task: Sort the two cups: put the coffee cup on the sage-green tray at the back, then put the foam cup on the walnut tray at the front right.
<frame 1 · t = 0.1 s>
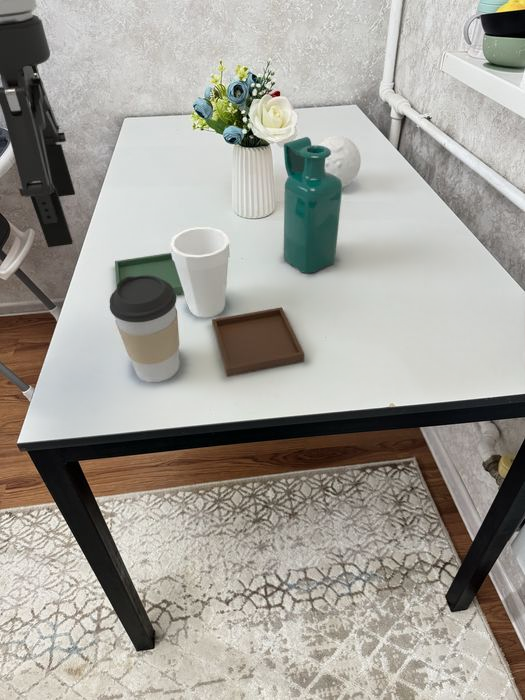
hand: (62, 217, 62), 24 cm above the table, tool pointing down, fingers open, 13 cm apart
foam cup: (207, 307, 87), on the table
walnut tray: (256, 343, 79), on the table
decorative ball: (333, 187, 122), on the table
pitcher: (306, 259, 98), on the table
coffee cup: (158, 367, 76), on the table
sage tray: (150, 280, 93), on the table
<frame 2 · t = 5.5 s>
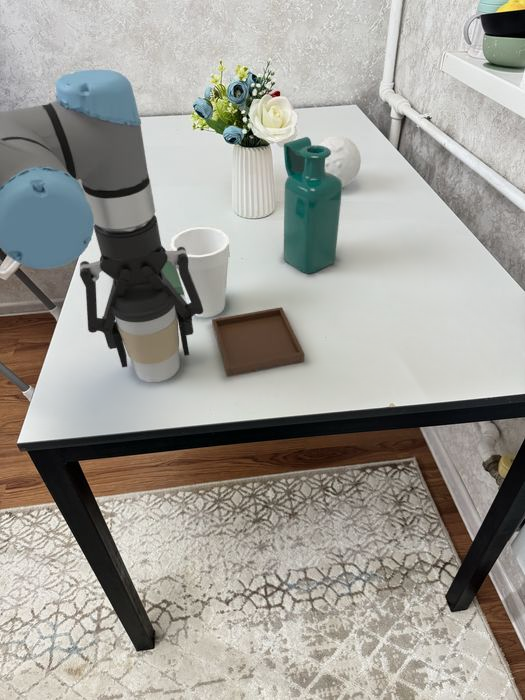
hand: (155, 355, 74), 2 cm above the table, tool pointing down, fingers closed on coffee cup, 8 cm apart
coffee cup: (158, 367, 76), on the table, touching gripper
everything else where it was.
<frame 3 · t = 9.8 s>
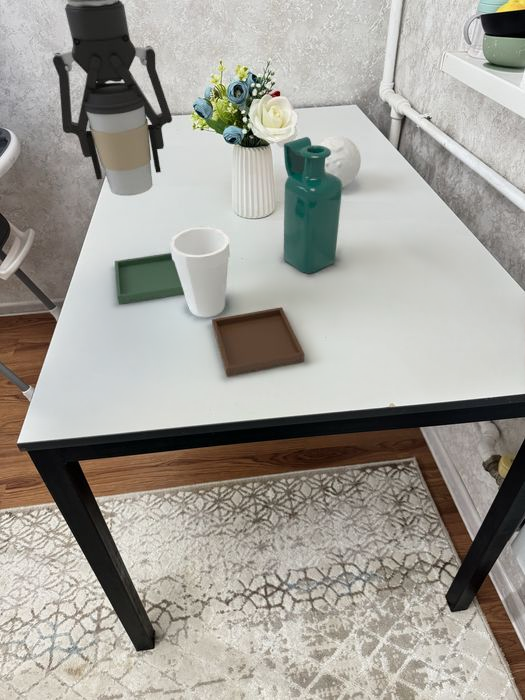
hand: (128, 172, 79), 21 cm above the table, tool pointing down, fingers closed on coffee cup, 8 cm apart
coffee cup: (131, 187, 80), point 19 cm above the table, touching gripper
everything else where it was.
when the fingers open (3 cm above the table, at t = 14.2 s): coffee cup stays where it is, resting on sage tray.
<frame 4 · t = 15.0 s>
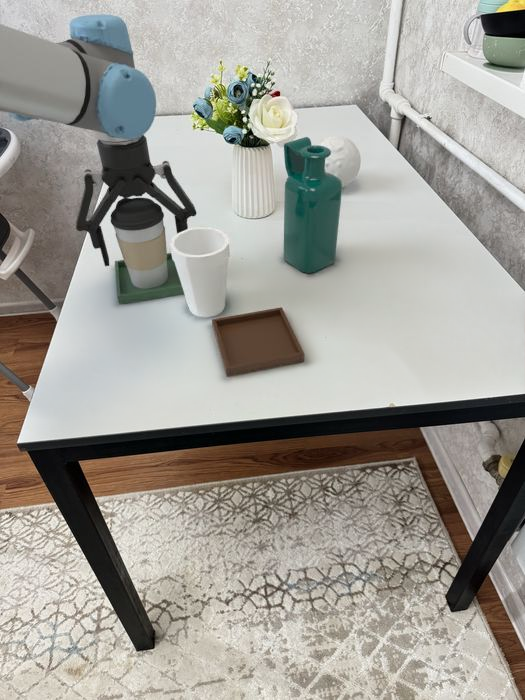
hand: (145, 257, 90), 5 cm above the table, tool pointing down, fingers open, 13 cm apart
coffee cup: (150, 279, 93), resting on sage tray
everything else where it was.
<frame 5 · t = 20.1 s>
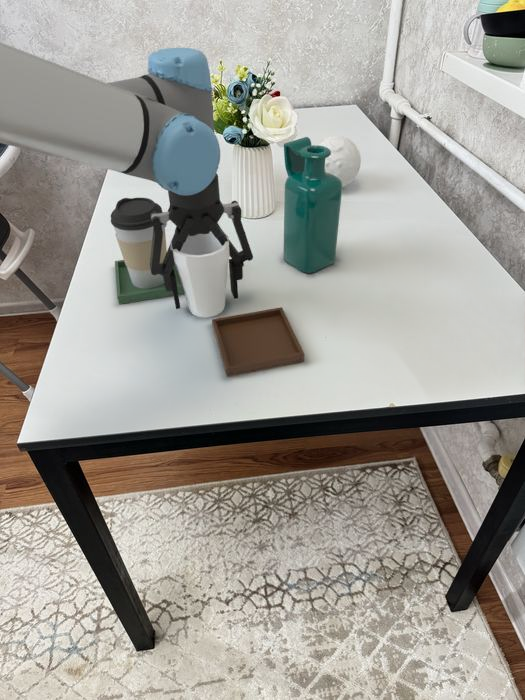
hand: (206, 299, 86), 2 cm above the table, tool pointing down, fingers closed on foam cup, 9 cm apart
foam cup: (207, 307, 87), on the table, touching gripper
everything else where it was.
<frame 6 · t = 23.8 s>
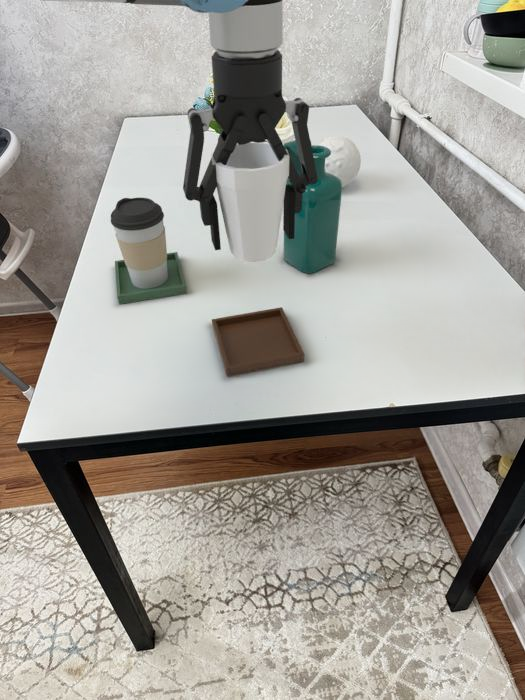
hand: (252, 239, 67), 19 cm above the table, tool pointing down, fingers closed on foam cup, 9 cm apart
foam cup: (253, 250, 68), point 17 cm above the table, touching gripper
everything else where it was.
when the fingers open (2 cm above the table, at t = 28.0 s): foam cup stays where it is, resting on walnut tray.
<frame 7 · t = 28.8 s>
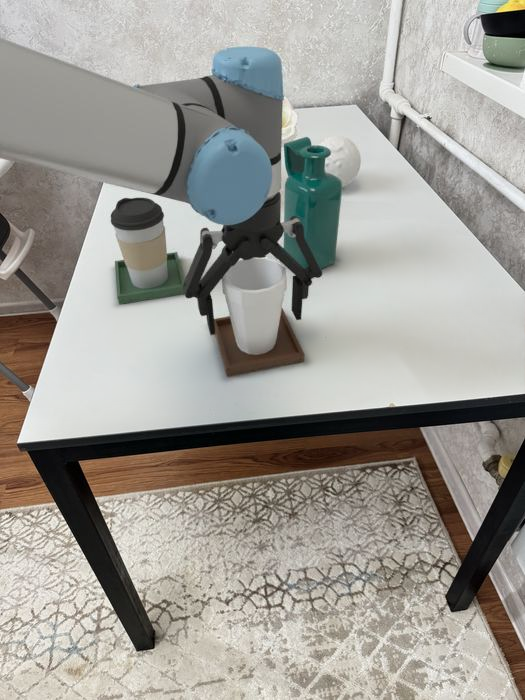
hand: (254, 322, 76), 5 cm above the table, tool pointing down, fingers open, 13 cm apart
foam cup: (256, 342, 79), resting on walnut tray
everything else where it was.
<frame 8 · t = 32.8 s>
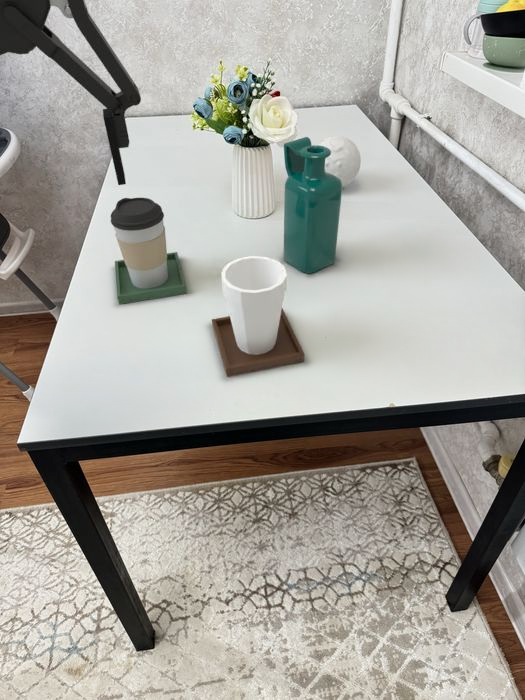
hand: (53, 187, 50), 32 cm above the table, tool pointing down, fingers open, 13 cm apart
nothing on the table moved.
at the end: coffee cup 0.0 cm off-centre in the sage tray, point 0.3 cm above the sage tray's base; foam cup 0.0 cm off-centre in the walnut tray, point 0.3 cm above the walnut tray's base; foam cup tilted 0° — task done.
